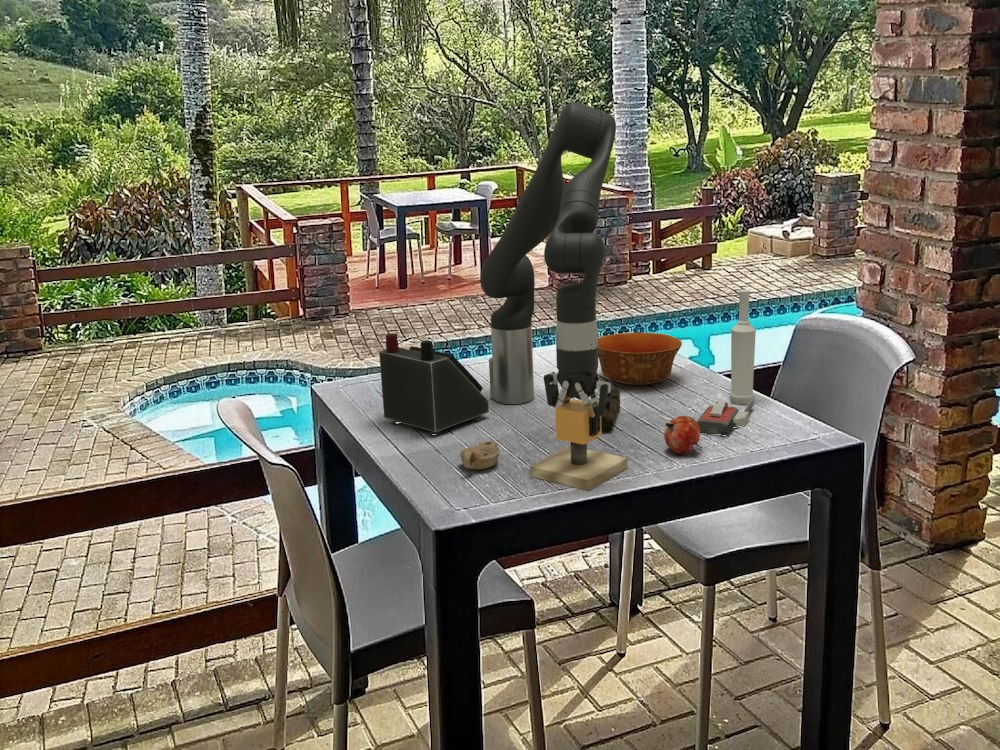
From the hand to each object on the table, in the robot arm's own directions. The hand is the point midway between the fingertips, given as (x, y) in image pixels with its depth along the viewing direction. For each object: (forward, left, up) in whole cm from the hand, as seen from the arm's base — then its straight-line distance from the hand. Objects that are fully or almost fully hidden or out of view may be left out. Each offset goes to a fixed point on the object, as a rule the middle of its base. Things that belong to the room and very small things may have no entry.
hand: (579, 431), depth 194 cm
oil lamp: (-18, -7, -8) cm, 21 cm away
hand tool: (-12, +29, -9) cm, 33 cm away
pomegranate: (+11, +20, -8) cm, 24 cm away
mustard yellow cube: (0, 0, -1) cm, 1 cm away
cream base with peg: (0, 0, -8) cm, 8 cm away
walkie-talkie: (+10, +40, -9) cm, 42 cm away
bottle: (+7, +54, -8) cm, 55 cm away
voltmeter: (-43, +9, -8) cm, 45 cm away
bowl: (-21, +56, -8) cm, 60 cm away
